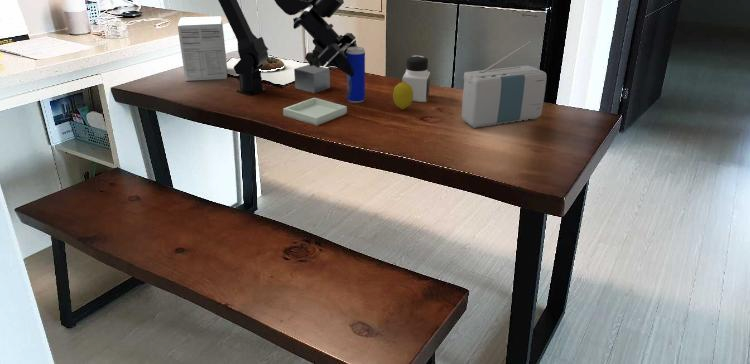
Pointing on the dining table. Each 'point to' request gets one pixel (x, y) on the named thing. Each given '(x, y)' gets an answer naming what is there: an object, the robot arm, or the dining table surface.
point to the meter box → (312, 78)
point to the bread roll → (272, 64)
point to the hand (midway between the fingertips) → (357, 71)
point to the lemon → (403, 95)
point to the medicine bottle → (418, 77)
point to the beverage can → (356, 75)
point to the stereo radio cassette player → (503, 94)
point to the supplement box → (202, 48)
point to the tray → (315, 111)
